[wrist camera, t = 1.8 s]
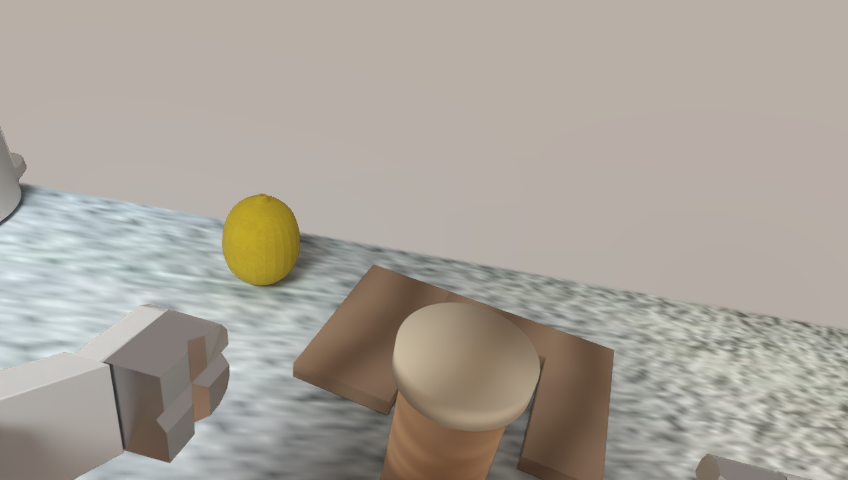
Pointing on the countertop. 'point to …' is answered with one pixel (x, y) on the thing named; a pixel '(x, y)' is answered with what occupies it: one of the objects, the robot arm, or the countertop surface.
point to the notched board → (557, 351)
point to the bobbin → (456, 391)
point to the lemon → (261, 240)
